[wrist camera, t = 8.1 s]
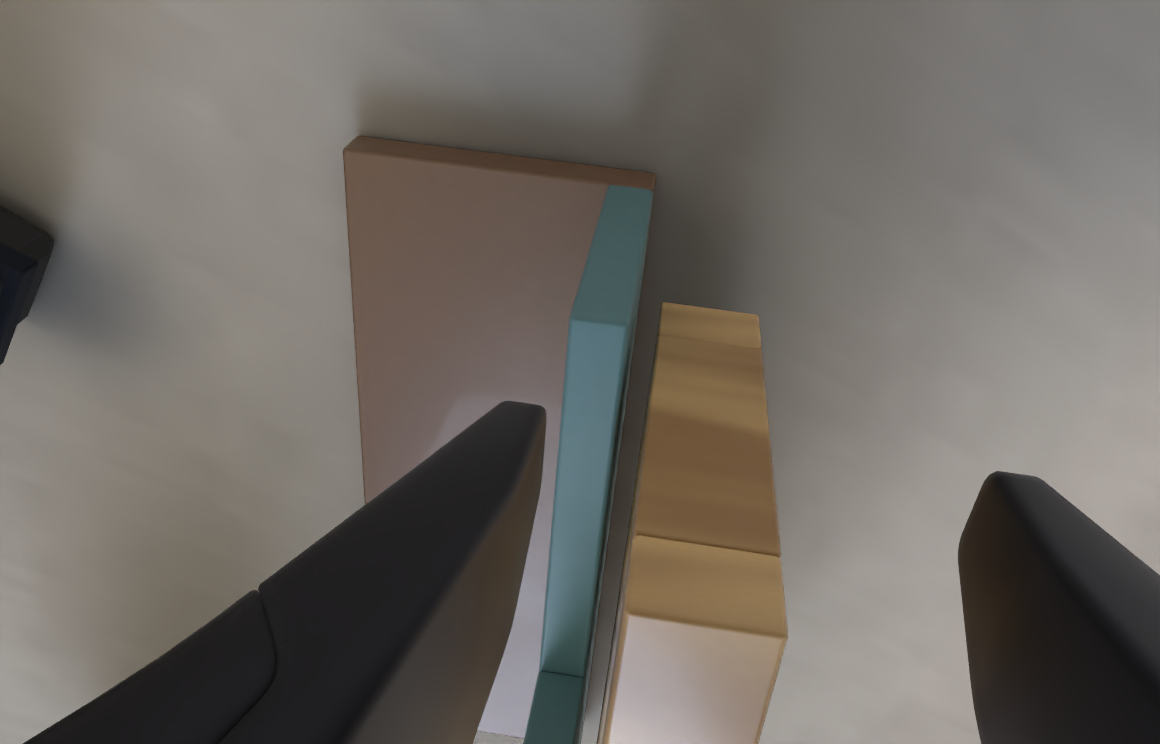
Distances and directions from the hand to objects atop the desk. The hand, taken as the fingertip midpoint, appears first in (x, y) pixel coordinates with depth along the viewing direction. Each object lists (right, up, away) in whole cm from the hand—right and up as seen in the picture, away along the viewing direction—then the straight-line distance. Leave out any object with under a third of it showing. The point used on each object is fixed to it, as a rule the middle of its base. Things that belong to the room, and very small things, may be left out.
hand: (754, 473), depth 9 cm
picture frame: (0, -5, +15) cm, 16 cm away
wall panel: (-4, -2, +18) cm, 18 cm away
